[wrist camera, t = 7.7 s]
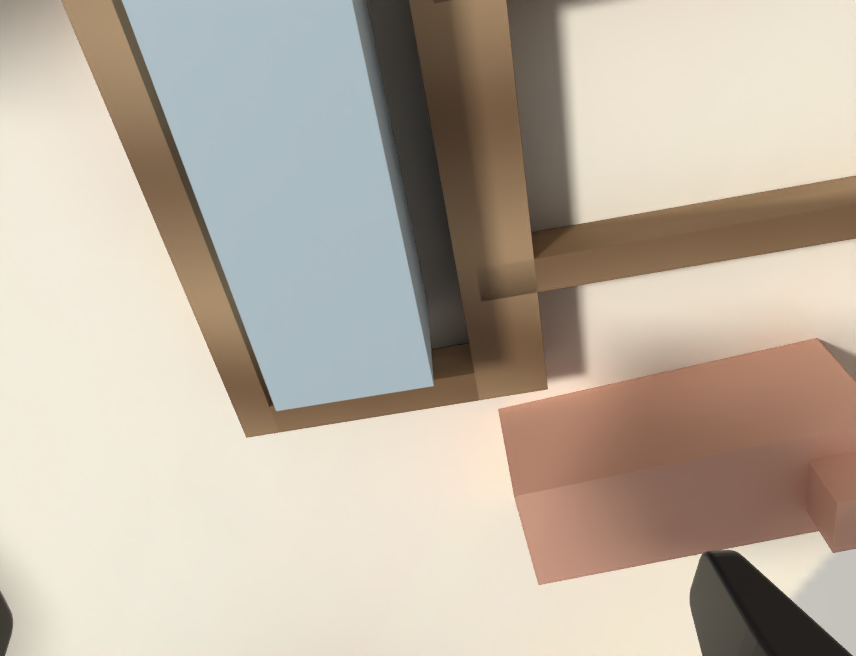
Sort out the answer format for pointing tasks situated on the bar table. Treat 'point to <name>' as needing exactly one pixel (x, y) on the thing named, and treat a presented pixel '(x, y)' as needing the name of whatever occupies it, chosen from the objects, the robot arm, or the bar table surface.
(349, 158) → the light blue rectangular block
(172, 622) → the bar table surface
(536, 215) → the bar table surface
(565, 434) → the block
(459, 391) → the jig
